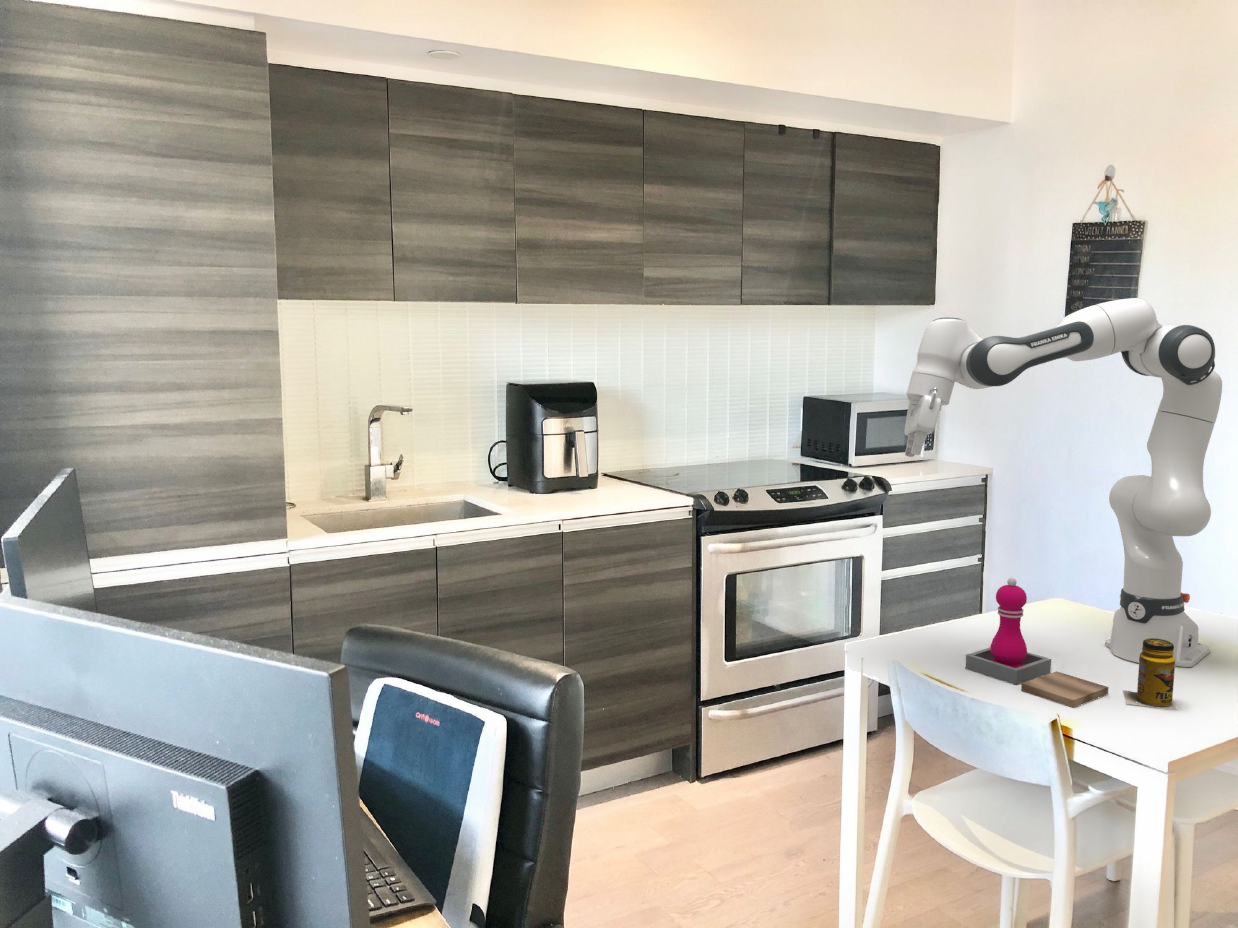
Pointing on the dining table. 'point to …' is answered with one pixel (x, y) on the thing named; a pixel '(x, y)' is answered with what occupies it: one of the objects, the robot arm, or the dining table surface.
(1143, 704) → the condiment
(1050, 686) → the walnut board
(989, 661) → the gray square tray
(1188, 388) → the robot arm
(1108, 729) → the dining table surface
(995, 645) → the pepper mill
